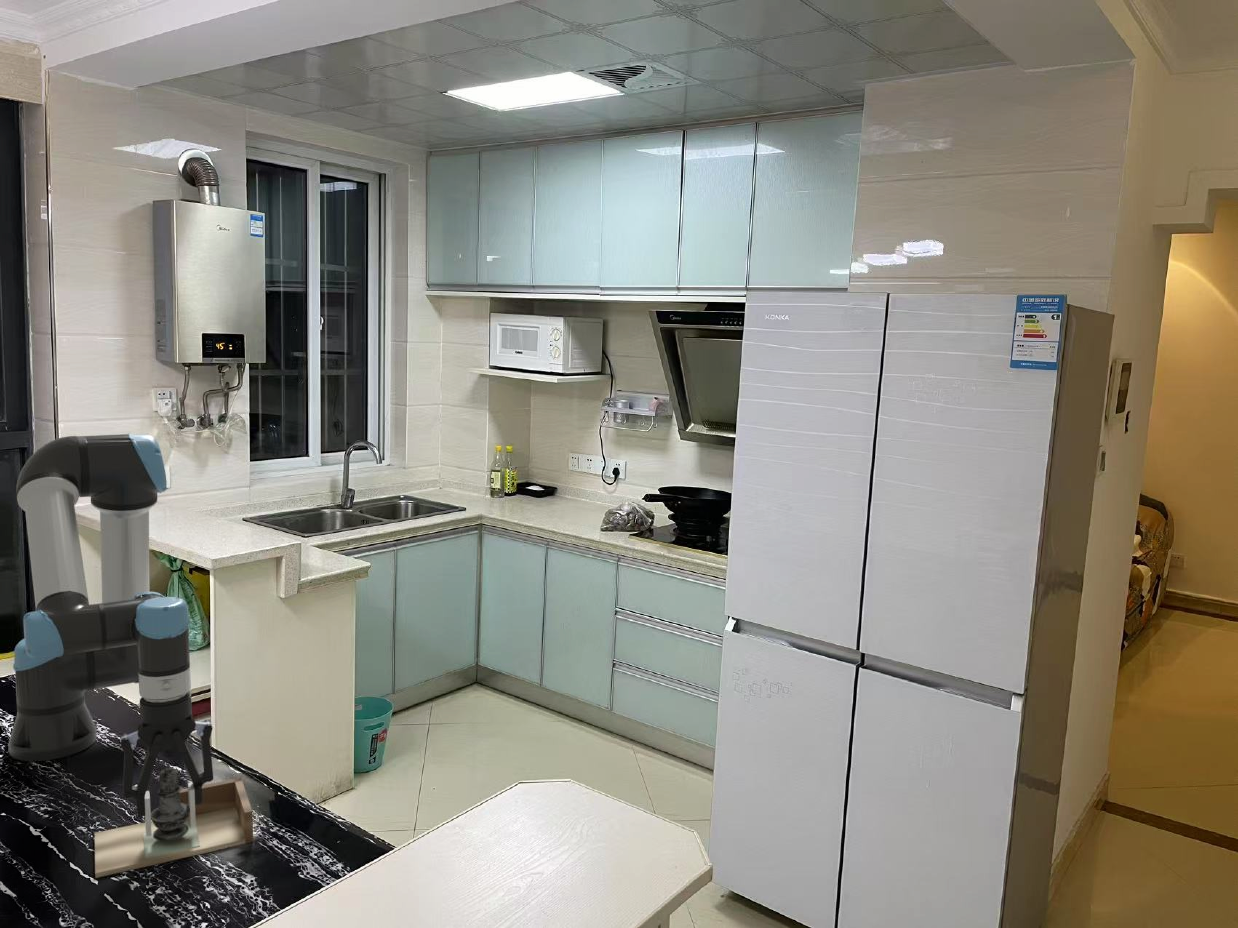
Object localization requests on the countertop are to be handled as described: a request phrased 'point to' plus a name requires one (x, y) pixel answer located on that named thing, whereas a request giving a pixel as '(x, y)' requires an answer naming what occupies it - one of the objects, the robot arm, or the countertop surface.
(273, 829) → the countertop surface
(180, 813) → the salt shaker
